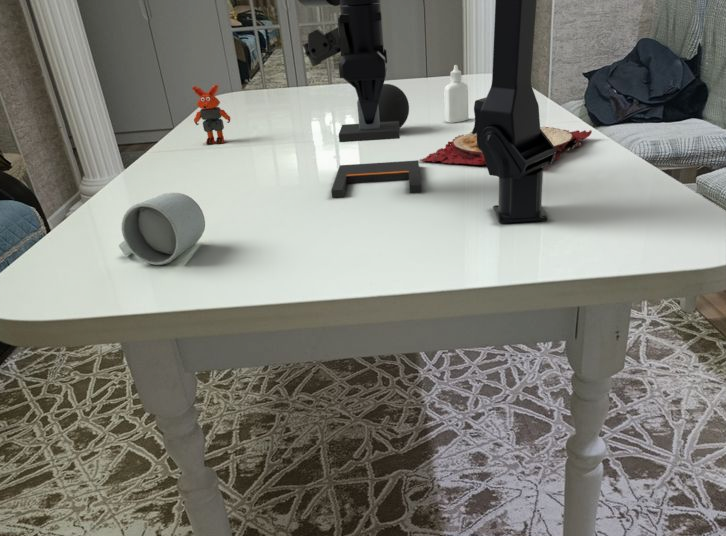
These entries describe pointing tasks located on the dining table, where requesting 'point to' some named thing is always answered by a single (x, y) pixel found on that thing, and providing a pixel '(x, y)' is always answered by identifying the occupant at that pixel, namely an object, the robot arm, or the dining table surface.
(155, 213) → the ceramic mug
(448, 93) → the eye dropper bottle
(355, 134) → the loose pad
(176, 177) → the dining table surface
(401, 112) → the dark grey ball
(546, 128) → the plate with food
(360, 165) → the dock pad
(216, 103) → the toy animal
